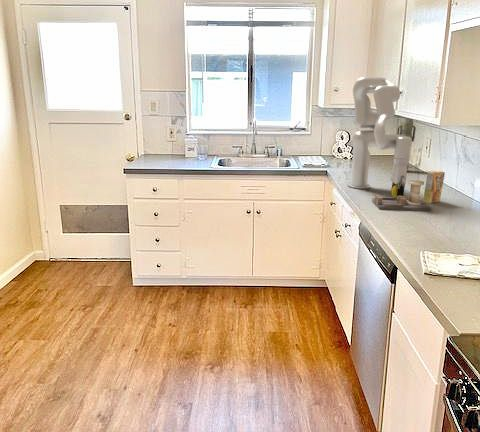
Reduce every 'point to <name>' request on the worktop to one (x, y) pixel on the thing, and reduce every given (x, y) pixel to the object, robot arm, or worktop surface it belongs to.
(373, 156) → the worktop surface
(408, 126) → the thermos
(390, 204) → the board
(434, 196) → the candy box
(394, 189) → the lemon
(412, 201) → the bobbin
